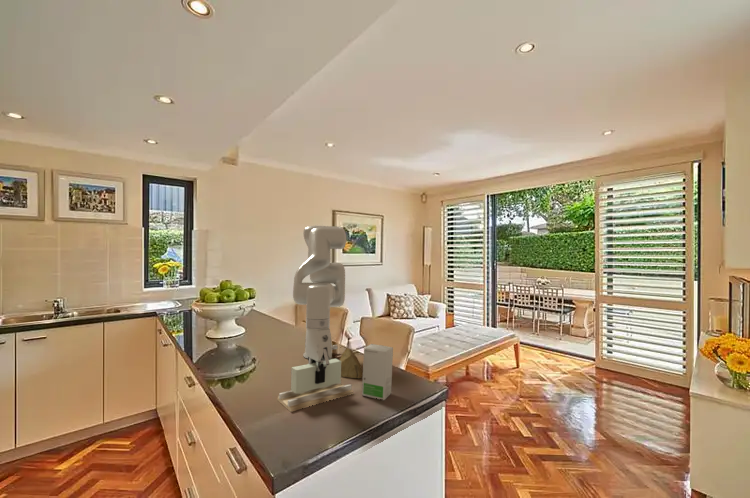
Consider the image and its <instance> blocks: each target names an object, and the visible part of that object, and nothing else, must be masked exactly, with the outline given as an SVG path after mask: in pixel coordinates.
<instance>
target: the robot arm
mask: <svg viewBox="0 0 750 498" xmlns="http://www.w3.org/2000/svg"><path fill="white" fill-rule="evenodd" d="M303 239H304V241H305V244H306V246H307V248H308V249H307V250H308V251H307V259H306V260H305V261H304V262H303V263H302V264H301V265H300V266H299V267H298V268H297V270H296V272H295V273H294V274H295V275H294V278H293V289H292V298H293V299H292V300H293V302H295V304H297V305H301V306H303V305H306V307H305V309H306V312H305V329H306V331H305V344H304V352H303V354H302V355H303V357H304V358H305V359H307V361H308V363H307V364H311V363H316V368H317V371H315V383H316V384H319V383H323V382H325V370H326V367H327V366H328V365H329V360H331V359H333V356H332V354H333V350H337V349H338V344H332V335H331V329H330V322H331V321H330V320H331V319H330V318H331V317H330V316H331V308H335V307H336V308H337V307H342V306H343V305H344V304H345V300H346V299H345V298H346V268H345V266H344V265H343V263H340V262H331V261H332V258H331V257H332V256H331V255H332V254H331V252H332V250H331V249H333V250H334V249H335V250H342V249H344V248H345V247H346V243H347V234H346V231H345V228H343V227H342V226H338V225H337V226H332V225H308V226H306V227H304V228H303ZM308 276H309V280H310V282H303V280H304V279H305V278H306V277H308ZM321 362H322V364H321V365H320V363H321Z"/></svg>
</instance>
